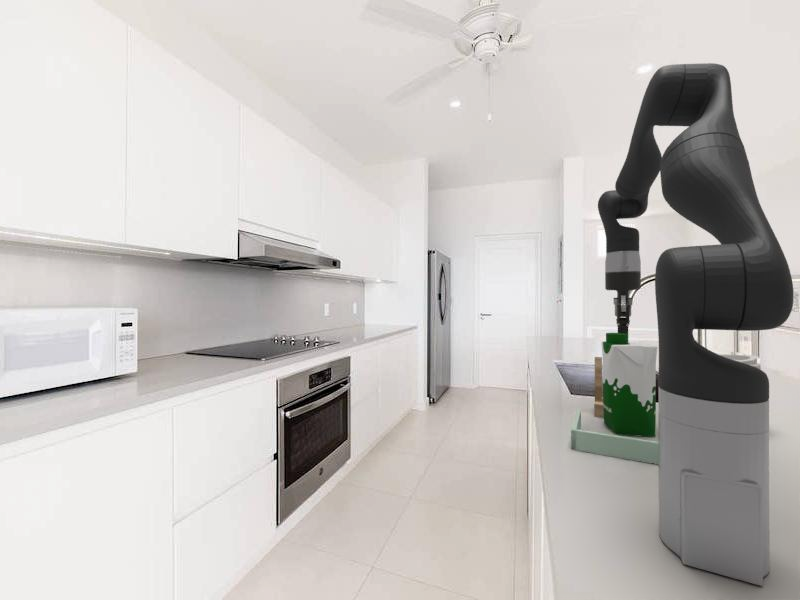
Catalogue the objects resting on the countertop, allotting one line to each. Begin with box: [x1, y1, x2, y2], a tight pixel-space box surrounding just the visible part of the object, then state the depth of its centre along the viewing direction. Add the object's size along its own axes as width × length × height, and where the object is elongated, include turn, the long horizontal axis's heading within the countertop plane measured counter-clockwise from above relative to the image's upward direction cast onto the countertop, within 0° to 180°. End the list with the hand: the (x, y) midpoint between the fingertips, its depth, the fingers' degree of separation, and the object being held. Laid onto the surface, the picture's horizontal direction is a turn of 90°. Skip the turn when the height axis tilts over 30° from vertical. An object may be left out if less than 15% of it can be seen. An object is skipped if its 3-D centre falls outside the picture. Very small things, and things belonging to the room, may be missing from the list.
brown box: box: [593, 356, 604, 419], centre depth 85 cm, size 7×10×13 cm
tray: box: [570, 409, 659, 466], centre depth 68 cm, size 14×19×4 cm
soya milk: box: [601, 332, 658, 437], centre depth 76 cm, size 9×9×20 cm
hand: (622, 340), depth 91 cm, fingers closed
